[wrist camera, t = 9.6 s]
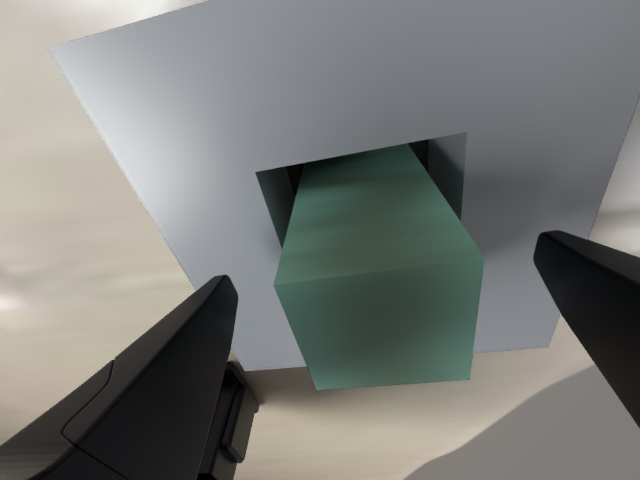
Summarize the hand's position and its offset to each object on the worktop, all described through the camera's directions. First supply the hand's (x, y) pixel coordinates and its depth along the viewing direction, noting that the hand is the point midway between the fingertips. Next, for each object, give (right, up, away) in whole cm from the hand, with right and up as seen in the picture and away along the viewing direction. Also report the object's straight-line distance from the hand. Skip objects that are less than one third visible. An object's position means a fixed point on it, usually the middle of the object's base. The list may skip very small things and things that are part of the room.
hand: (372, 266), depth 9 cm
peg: (0, +3, +5) cm, 6 cm away
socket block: (0, +3, +5) cm, 6 cm away
